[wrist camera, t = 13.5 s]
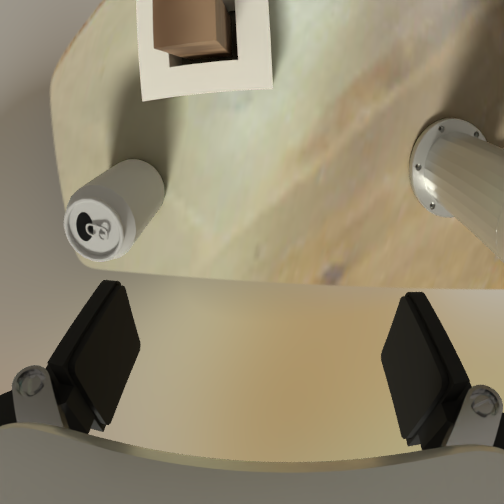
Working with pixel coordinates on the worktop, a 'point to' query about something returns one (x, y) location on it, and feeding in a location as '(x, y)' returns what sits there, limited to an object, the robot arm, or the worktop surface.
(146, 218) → the can
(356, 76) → the worktop surface
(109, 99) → the worktop surface
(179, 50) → the peg
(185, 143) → the worktop surface
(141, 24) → the socket block
